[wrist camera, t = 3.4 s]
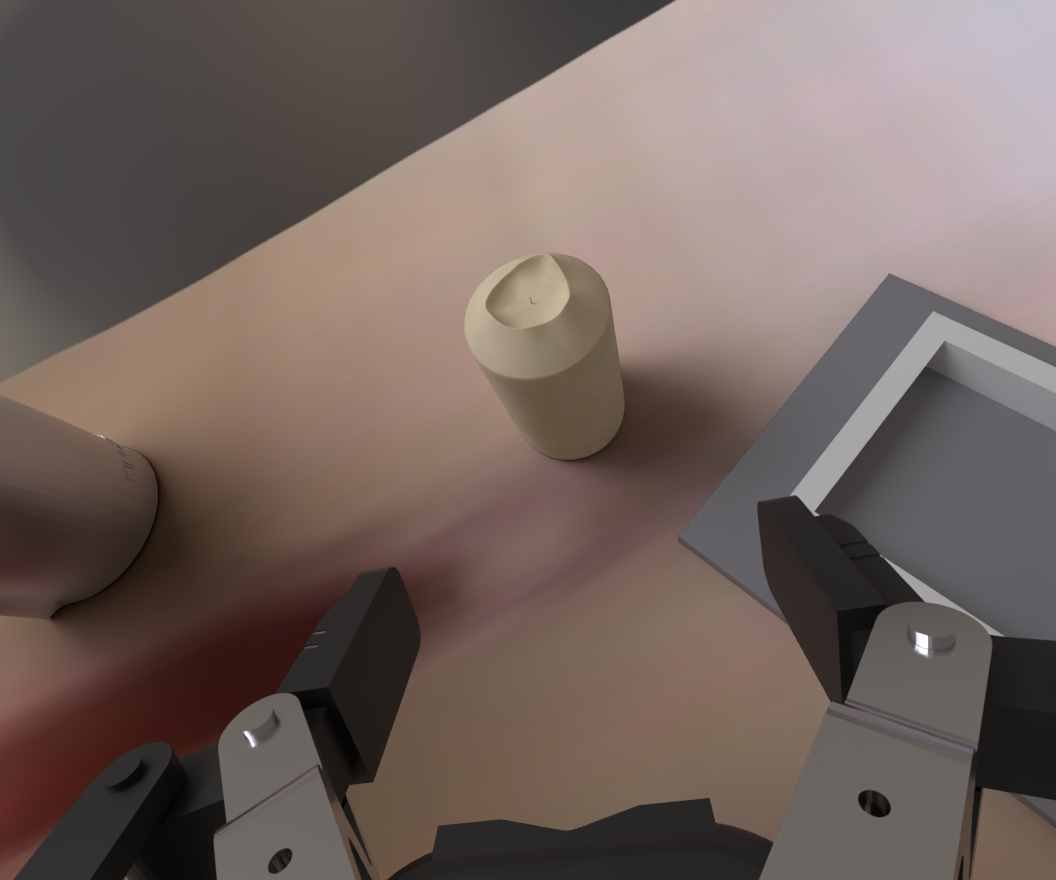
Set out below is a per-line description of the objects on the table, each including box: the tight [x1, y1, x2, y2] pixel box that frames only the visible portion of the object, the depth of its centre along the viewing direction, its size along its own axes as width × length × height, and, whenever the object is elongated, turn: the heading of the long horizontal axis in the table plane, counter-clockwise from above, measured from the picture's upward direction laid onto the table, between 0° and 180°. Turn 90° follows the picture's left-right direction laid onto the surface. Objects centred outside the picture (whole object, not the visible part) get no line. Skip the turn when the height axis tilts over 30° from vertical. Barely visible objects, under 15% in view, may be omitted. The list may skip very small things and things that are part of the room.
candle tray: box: [678, 273, 1056, 828], centre depth 21 cm, size 16×16×3 cm
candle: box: [464, 253, 625, 460], centre depth 24 cm, size 6×6×10 cm
